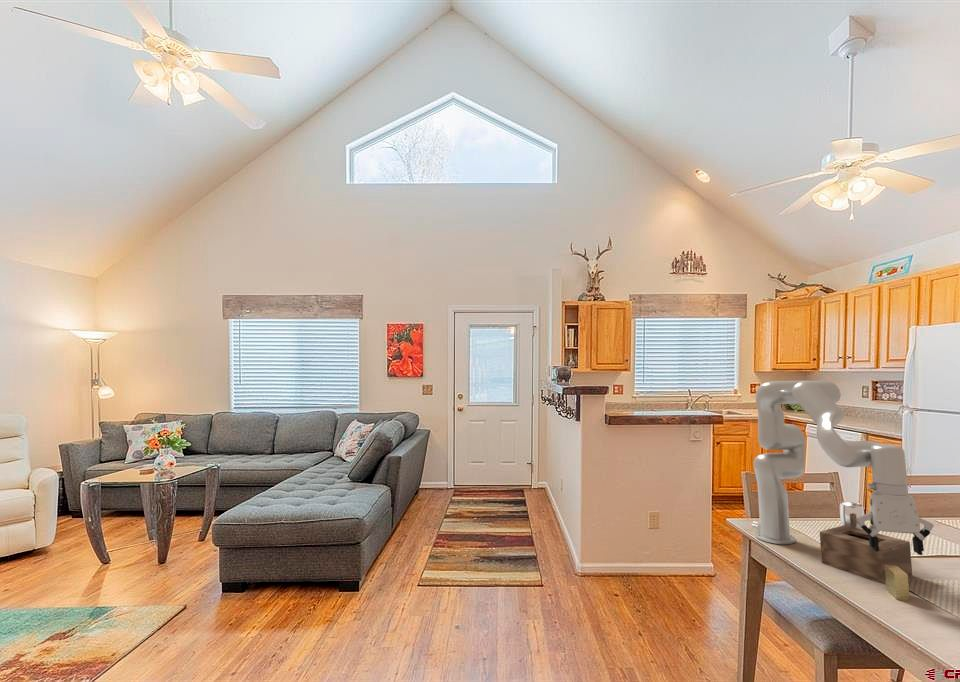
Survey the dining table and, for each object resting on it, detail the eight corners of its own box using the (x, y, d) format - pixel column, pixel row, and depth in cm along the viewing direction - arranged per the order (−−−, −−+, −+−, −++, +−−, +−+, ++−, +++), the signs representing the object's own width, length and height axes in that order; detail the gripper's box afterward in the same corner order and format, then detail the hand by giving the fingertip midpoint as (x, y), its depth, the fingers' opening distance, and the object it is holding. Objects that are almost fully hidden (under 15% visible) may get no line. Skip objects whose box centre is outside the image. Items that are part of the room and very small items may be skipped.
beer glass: (861, 544, 172) (858, 502, 173) (871, 551, 165) (867, 507, 166) (838, 543, 174) (835, 501, 175) (847, 550, 167) (844, 506, 168)
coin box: (821, 562, 157) (819, 531, 158) (846, 555, 163) (844, 525, 163) (886, 584, 141) (884, 549, 141) (912, 575, 146) (909, 541, 147)
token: (886, 590, 137) (884, 565, 138) (899, 591, 136) (897, 566, 137) (896, 599, 132) (894, 573, 132) (909, 601, 131) (907, 574, 131)
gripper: (858, 490, 135) (864, 553, 134) (936, 494, 129) (943, 559, 128) (848, 484, 142) (854, 544, 141) (922, 488, 136) (928, 550, 135)
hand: (896, 551), depth 134 cm, fingers open, 9 cm apart
